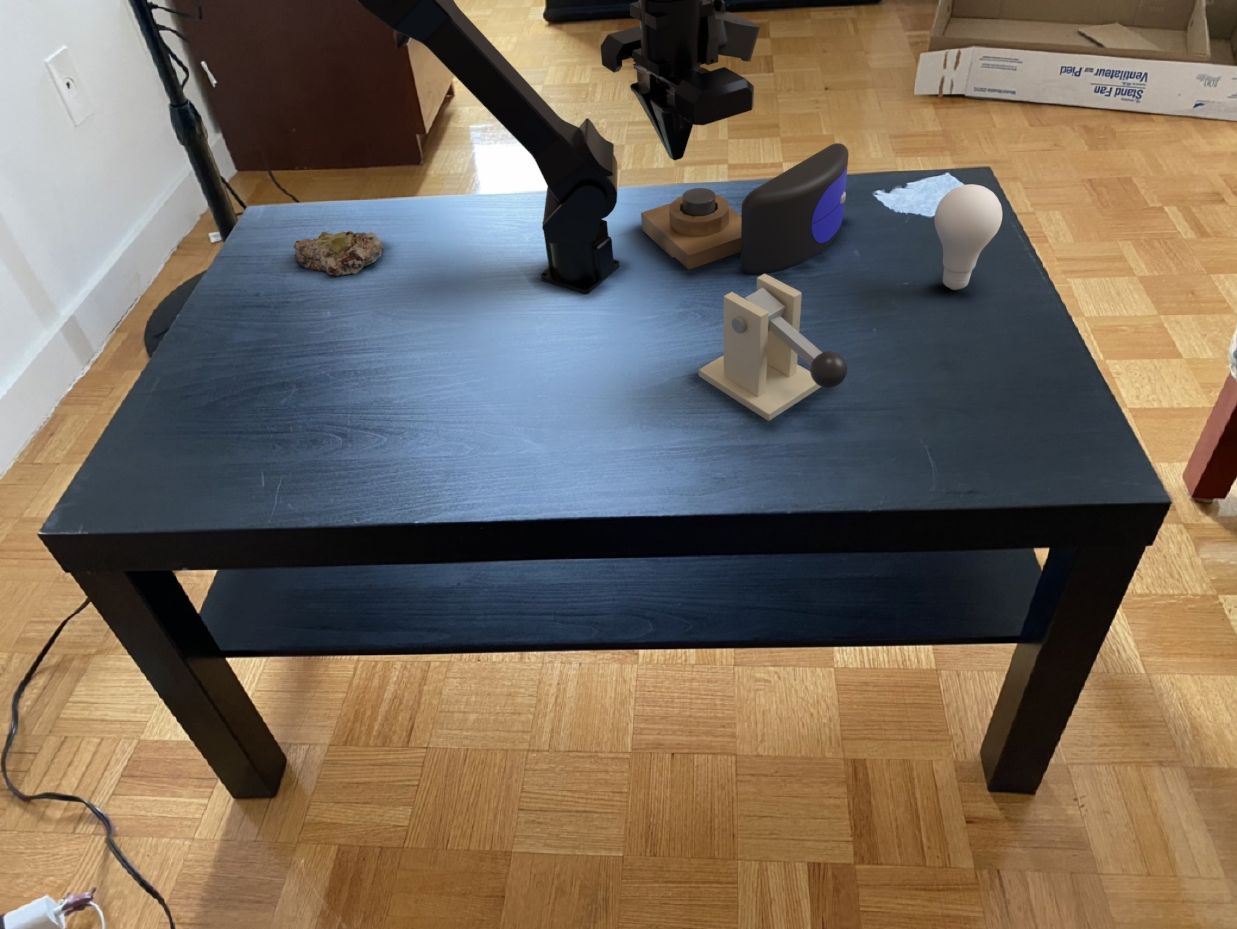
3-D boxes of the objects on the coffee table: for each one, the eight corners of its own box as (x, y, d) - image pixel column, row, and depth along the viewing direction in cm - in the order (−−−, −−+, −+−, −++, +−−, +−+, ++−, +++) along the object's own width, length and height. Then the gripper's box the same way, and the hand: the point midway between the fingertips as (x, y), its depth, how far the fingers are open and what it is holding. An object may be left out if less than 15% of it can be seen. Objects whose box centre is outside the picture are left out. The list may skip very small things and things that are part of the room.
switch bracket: (822, 389, 87) (830, 298, 80) (768, 424, 84) (772, 333, 77) (751, 347, 92) (753, 259, 85) (698, 379, 89) (696, 290, 82)
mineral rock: (391, 219, 111) (367, 237, 104) (398, 256, 113) (374, 276, 106) (305, 224, 113) (275, 241, 106) (313, 260, 115) (284, 279, 108)
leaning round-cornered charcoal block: (770, 290, 99) (773, 207, 92) (736, 275, 101) (737, 193, 95) (864, 228, 106) (873, 147, 100) (830, 215, 109) (837, 136, 102)
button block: (641, 229, 110) (639, 198, 107) (709, 208, 112) (709, 176, 110) (688, 273, 102) (687, 240, 100) (760, 248, 105) (761, 216, 102)
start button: (676, 208, 106) (676, 193, 104) (704, 199, 107) (704, 184, 105) (692, 221, 103) (692, 207, 102) (721, 212, 104) (721, 197, 103)
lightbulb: (987, 275, 98) (1010, 175, 90) (983, 308, 94) (1006, 207, 86) (926, 269, 99) (942, 170, 92) (919, 301, 95) (936, 200, 88)
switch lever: (848, 384, 80) (859, 361, 78) (824, 400, 79) (834, 377, 77) (759, 307, 85) (766, 282, 82) (735, 321, 83) (741, 296, 81)
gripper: (808, -3, 80) (798, 170, 91) (692, -51, 93) (696, 106, 103) (695, 28, 77) (699, 204, 88) (591, -26, 89) (605, 134, 100)
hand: (676, 158), depth 95 cm, fingers closed
